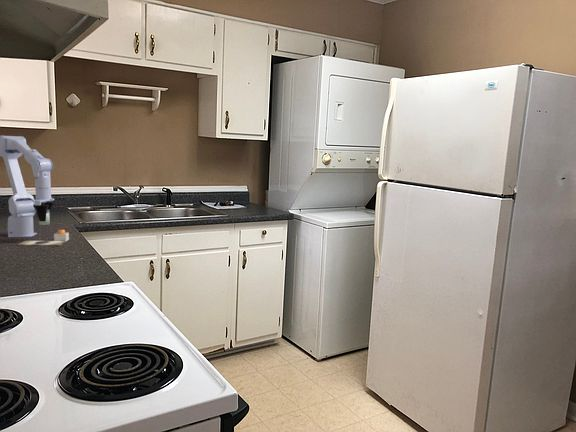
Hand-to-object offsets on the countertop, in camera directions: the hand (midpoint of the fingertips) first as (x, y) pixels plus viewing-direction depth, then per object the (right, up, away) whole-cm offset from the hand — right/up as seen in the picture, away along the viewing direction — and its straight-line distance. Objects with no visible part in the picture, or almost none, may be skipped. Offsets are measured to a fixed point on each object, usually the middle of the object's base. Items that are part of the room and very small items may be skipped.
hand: (44, 220), depth 201 cm
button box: (+6, -9, +3) cm, 11 cm away
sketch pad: (+2, -10, -5) cm, 11 cm away
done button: (+6, -7, +2) cm, 10 cm away
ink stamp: (0, -2, 0) cm, 2 cm away
